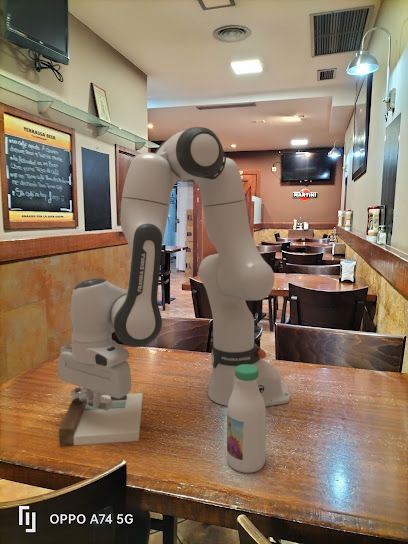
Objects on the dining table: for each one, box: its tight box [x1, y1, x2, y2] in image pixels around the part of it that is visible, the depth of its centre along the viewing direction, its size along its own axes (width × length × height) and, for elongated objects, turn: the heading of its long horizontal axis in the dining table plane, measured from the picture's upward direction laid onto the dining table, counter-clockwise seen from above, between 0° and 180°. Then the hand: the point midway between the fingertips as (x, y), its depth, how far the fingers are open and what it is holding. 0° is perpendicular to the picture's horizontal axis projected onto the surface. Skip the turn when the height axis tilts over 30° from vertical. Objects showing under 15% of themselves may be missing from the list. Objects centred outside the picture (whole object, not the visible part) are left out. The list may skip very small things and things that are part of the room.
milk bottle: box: [226, 364, 267, 474], centre depth 76 cm, size 8×8×20 cm
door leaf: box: [73, 392, 144, 446], centre depth 93 cm, size 14×19×6 cm
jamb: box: [58, 400, 86, 447], centre depth 92 cm, size 3×19×4 cm, turn 7°
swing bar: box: [70, 387, 113, 411], centre depth 93 cm, size 12×3×3 cm, turn 60°
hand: (93, 405), depth 90 cm, fingers closed, pressing on swing bar
